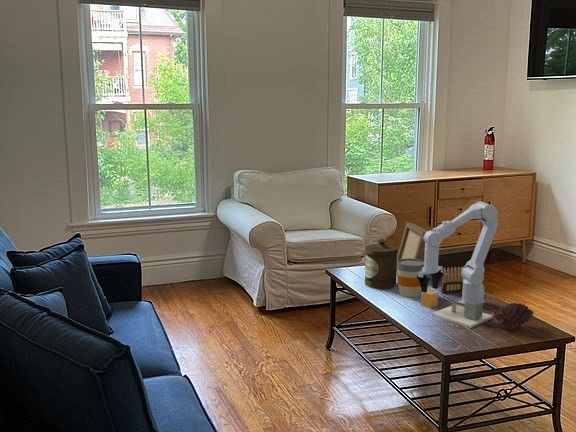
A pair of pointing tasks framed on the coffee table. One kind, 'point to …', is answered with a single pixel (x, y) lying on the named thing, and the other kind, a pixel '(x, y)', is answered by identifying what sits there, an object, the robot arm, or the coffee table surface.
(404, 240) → the photo frame
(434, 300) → the amber foam cube
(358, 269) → the coffee table surface
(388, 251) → the wooden container
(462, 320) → the board
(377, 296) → the coffee table surface
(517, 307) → the pine cone
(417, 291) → the reusable coffee cup
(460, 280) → the ammunition clip
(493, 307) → the coffee table surface
